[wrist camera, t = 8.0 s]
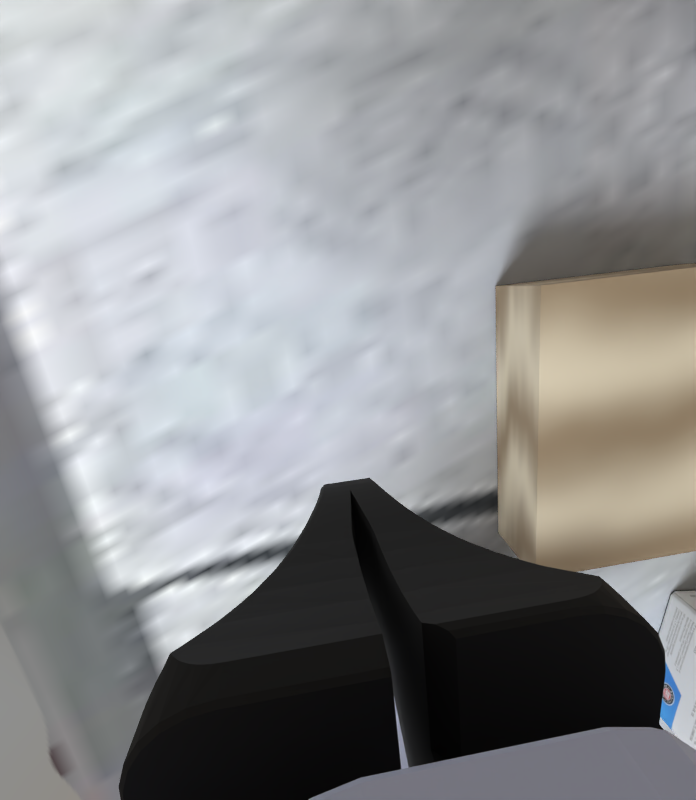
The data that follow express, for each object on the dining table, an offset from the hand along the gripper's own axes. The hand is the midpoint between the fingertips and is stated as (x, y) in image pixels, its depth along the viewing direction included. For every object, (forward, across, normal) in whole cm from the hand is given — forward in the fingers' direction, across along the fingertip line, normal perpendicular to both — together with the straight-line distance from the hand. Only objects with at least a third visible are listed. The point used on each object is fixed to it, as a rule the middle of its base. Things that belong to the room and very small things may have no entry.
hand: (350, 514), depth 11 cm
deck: (+10, -14, +2) cm, 18 cm away
